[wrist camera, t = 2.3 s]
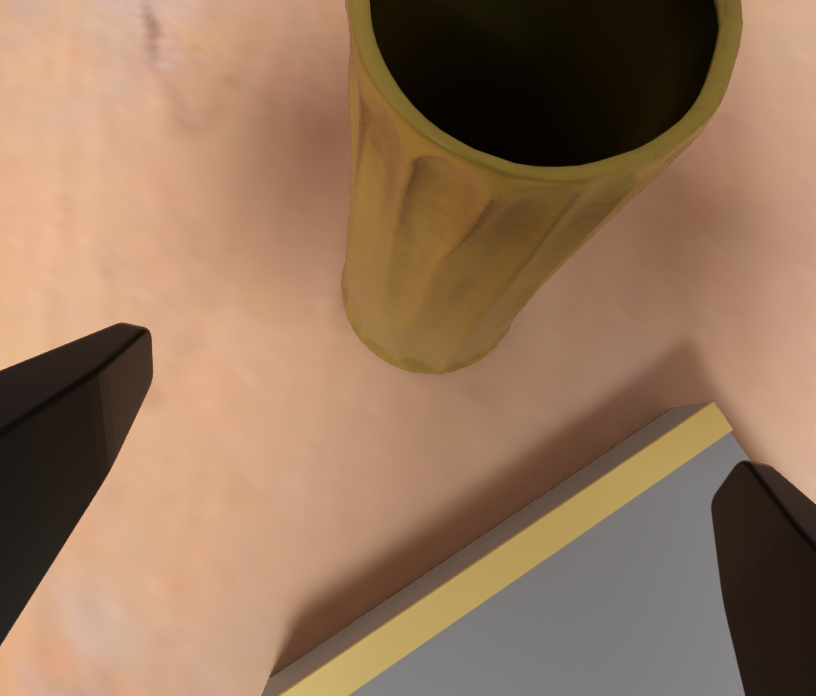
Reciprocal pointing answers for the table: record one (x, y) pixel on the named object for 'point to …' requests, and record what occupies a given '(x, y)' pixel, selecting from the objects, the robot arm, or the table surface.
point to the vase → (506, 150)
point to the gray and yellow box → (564, 590)
